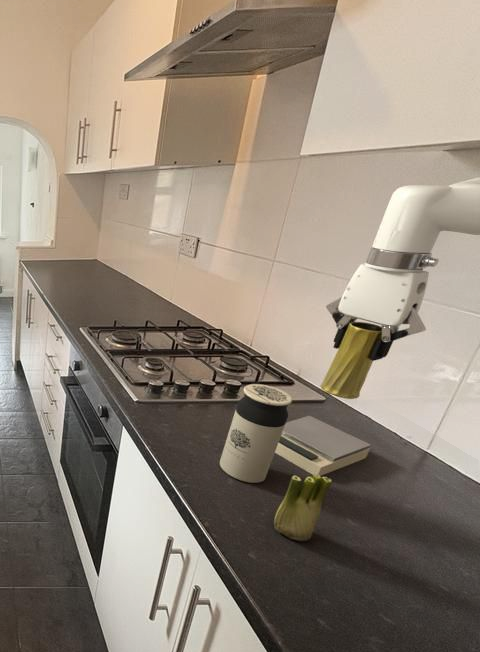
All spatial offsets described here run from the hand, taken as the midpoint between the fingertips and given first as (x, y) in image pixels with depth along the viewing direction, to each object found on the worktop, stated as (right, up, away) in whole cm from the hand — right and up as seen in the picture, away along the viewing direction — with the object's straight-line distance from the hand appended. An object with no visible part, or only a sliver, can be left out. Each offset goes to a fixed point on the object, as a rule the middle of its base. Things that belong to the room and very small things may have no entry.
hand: (357, 352), depth 81 cm
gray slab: (0, -19, +8) cm, 20 cm away
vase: (0, -8, +4) cm, 9 cm away
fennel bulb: (-22, -31, -11) cm, 39 cm away
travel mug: (-21, -24, +3) cm, 32 cm away
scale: (-2, -21, +9) cm, 23 cm away
